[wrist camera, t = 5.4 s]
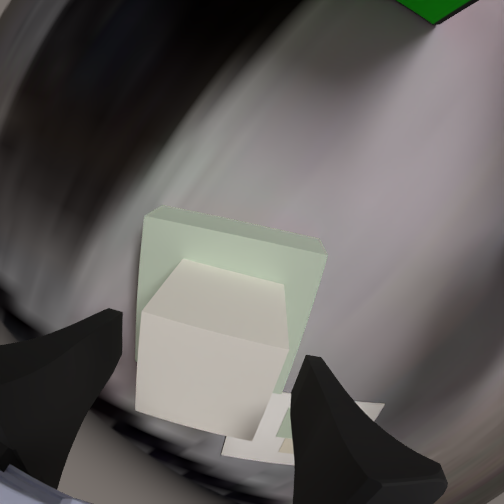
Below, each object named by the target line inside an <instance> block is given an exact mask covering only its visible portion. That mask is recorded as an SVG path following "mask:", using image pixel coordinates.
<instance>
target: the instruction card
mask: <svg viewBox="0 0 504 504" xmlns="http://www.w3.org/2000/svg"><path fill="white" fill-rule="evenodd" d="M290 403H291V393H286V392H282V394H276V393H272V395H271V398H270V400H269V403H268V405H267V407H266V410H265V412H264V415H263V417H262V419H261V422H260V424H259V426H258V429H257V431H256V433H255V436H254V438H253V440H252V441H248V440H243V439H238V438H233V437H229V436H226V440H225V443H224V446H223V450H222V453H221V455H225V456H230V457H236V458H242V459H248V460H255V461H262V462H269V463H277V464H286V465H294V451H293V441H292V430H291V419H290ZM355 403H356V404H357V405H358V406H359V407H360V408H361V409H362V410H363V411H364V412H365V413H366V414H367V415H368V416H369V417H370V418H371V419H372V420H373V421H375V420H376V418H377V416H378V415H379V413H380V412H381V410H382V408H383V407H384V405H385V403H371V402H359V401H355Z"/></svg>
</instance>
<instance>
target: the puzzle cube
mask: <svg viewBox="0 0 504 504" xmlns="http://www.w3.org/2000/svg"><path fill="white" fill-rule="evenodd" d="M396 1H398V2H399V3H401V4H403V5H404V6H406V7H407V8H409V9H411V10H412V11H414V12H415V13H417V14H418V15H420V16H421V17H423V18H424V19H426V20H427V21H429V22H430V23H431V24H433V25H437V24H441V23H442V22H444V21H446V20H447V19H449V18H450V17H452V16H454V15H455V14H457V13H458V12H460V11H462V10H463V9H465V8H467V7H468V6H470V5H472V4H473V3H475V2H477V1H479V0H396Z"/></svg>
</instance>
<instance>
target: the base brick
mask: <svg viewBox="0 0 504 504" xmlns="http://www.w3.org/2000/svg"><path fill="white" fill-rule="evenodd" d="M327 257H328V254H327V252H326V250H325V248H324V246H323V244H322V243H321V241H320V239H318V238H314V237H310V236H305V235H301V234H296V233H292V232H288V231H283V230H279V229H274V228H270V227H265V226H260V225H256V224H251V223H247V222H242V221H237V220H233V219H228V218H223V217H218V216H214V215H209V214H204V213H199V212H194V211H189V210H184V209H180V208H175V207H170V206H165V205H162V206H160V207H158V208H157V209H155V210H153V211H152V212H150V213H148V214H147V215H145V216H144V224H143V233H142V242H141V253H140V265H139V278H138V293H137V312H136V341H135V361H136V362H137V361H138V347H139V335H140V324H141V313H142V310H143V309H144V307H145V306H146V305H147V304H148V302H149V301H150V300H151V298H152V297H153V296H154V295H155V293H156V292H157V291H158V289H159V288H160V287H161V286H162V284H163V283H164V282H165V280H166V279H167V278H168V277H169V275H170V274H171V273H172V272H173V270H174V269H175V268H176V267H177V265H178V264H179V263H180V262H181V260H182V259H187V260H191V261H194V262H198V263H202V264H206V265H210V266H214V267H217V268H221V269H225V270H229V271H233V272H237V273H241V274H245V275H249V276H252V277H256V278H260V279H264V280H268V281H272V282H276V283H280V284H284V290H285V302H286V314H287V326H288V339H289V352H288V354H287V357H286V360H285V362H284V365H283V367H282V370H281V373H280V375H279V378H278V380H277V383H276V385H275V388H274V390H273V393H276V394H282V392H283V389H284V386H285V384H286V381H287V378H288V375H289V373H290V370H291V367H292V364H293V362H294V359H295V356H296V353H297V350H298V347H299V345H300V342H301V339H302V336H303V333H304V330H305V327H306V324H307V321H308V318H309V315H310V312H311V309H312V306H313V303H314V300H315V296H316V293H317V290H318V287H319V284H320V280H321V277H322V274H323V271H324V267H325V264H326V261H327Z"/></svg>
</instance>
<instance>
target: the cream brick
mask: <svg viewBox="0 0 504 504" xmlns="http://www.w3.org/2000/svg"><path fill="white" fill-rule="evenodd" d="M288 352H289V339H288V326H287V314H286V302H285V290H284V284H280V283H276V282H272V281H268V280H264V279H260V278H256V277H252V276H249V275H245V274H241V273H237V272H233V271H229V270H225V269H221V268H217V267H214V266H210V265H206V264H202V263H198V262H194V261H191V260H187V259H182V260H181V262H180V263H179V264H178V265H177V267H176V268H175V269H174V270H173V272H172V273H171V274H170V275H169V277H168V278H167V279H166V280H165V282H164V283H163V284H162V286H161V287H160V288H159V289H158V291H157V292H156V293H155V295H154V296H153V297H152V298H151V300H150V301H149V302H148V304H147V305H146V306H145V307H144V309H143V310H142V313H141V324H140V335H139V347H138V361H137V378H136V400H135V410H136V411H139V412H141V413H144V414H148V415H151V416H154V417H157V418H160V419H163V420H167V421H170V422H173V423H177V424H180V425H184V426H188V427H191V428H195V429H199V430H203V431H207V432H211V433H215V434H220V435H224V436H229V437H233V438H238V439H243V440H248V441H252V440H253V438H254V436H255V433H256V431H257V429H258V426H259V424H260V422H261V419H262V417H263V415H264V412H265V410H266V407H267V405H268V403H269V400H270V398H271V395H272V393H273V390H274V388H275V385H276V383H277V380H278V378H279V375H280V373H281V370H282V367H283V365H284V362H285V360H286V357H287V354H288Z"/></svg>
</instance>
